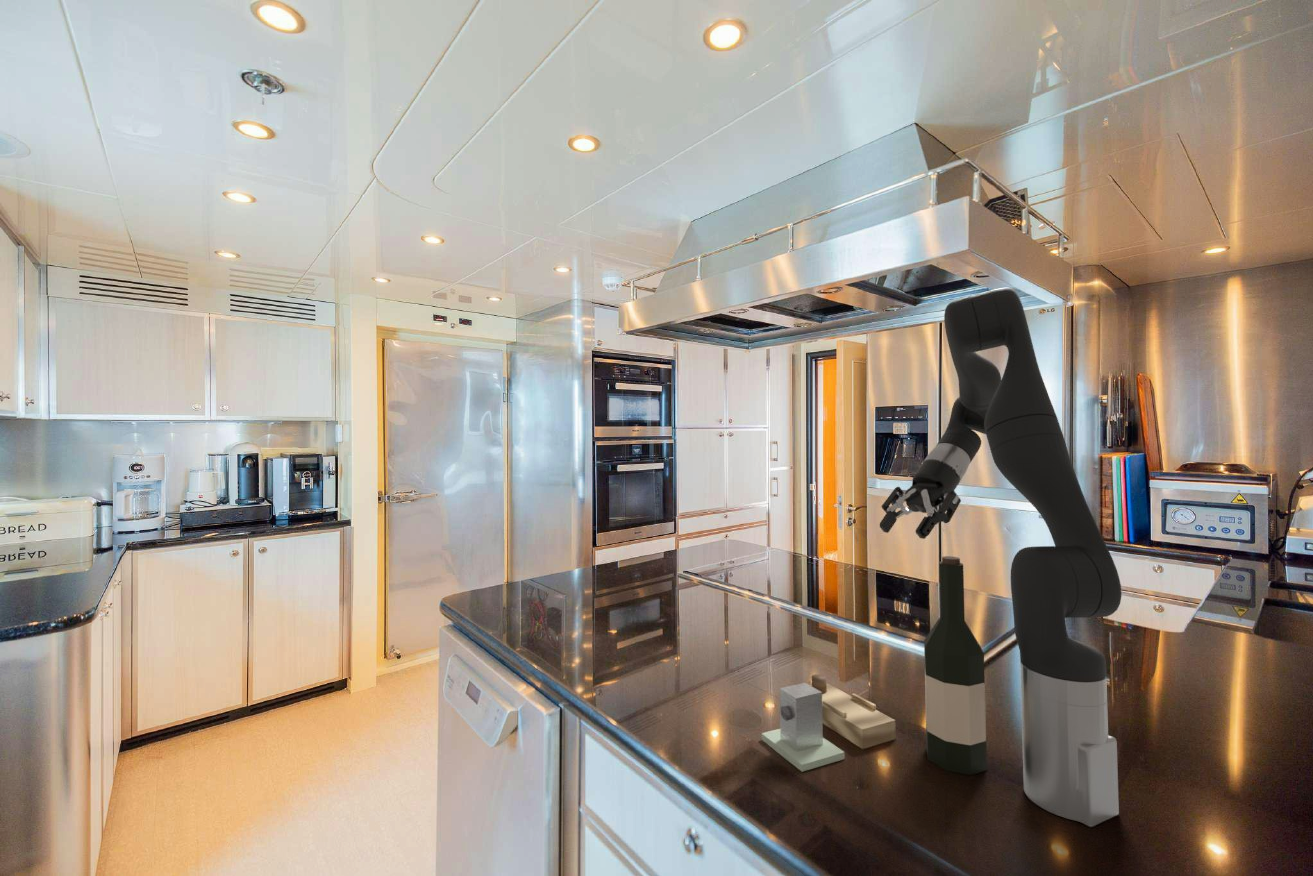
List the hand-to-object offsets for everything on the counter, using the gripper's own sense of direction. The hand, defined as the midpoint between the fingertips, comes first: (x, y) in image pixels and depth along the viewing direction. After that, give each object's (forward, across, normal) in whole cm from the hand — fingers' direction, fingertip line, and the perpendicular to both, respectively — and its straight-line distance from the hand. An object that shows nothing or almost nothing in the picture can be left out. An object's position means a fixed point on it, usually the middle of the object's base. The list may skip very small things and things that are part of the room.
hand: (900, 532), depth 106 cm
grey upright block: (+42, +7, 0) cm, 42 cm away
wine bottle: (+29, +19, +14) cm, 38 cm away
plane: (+34, +3, +9) cm, 36 cm away
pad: (+43, +7, +1) cm, 43 cm away
